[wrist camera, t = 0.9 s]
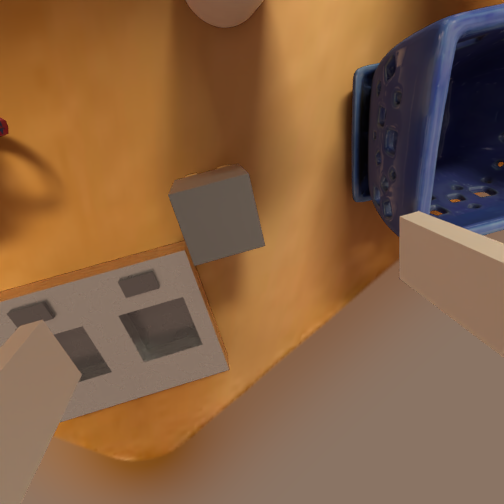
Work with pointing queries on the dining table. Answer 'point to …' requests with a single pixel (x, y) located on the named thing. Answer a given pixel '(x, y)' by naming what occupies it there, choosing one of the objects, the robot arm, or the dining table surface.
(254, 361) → the dining table surface
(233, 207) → the plug
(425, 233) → the robot arm
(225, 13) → the coffee cup
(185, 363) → the socket
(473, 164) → the flower pot
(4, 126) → the cup
